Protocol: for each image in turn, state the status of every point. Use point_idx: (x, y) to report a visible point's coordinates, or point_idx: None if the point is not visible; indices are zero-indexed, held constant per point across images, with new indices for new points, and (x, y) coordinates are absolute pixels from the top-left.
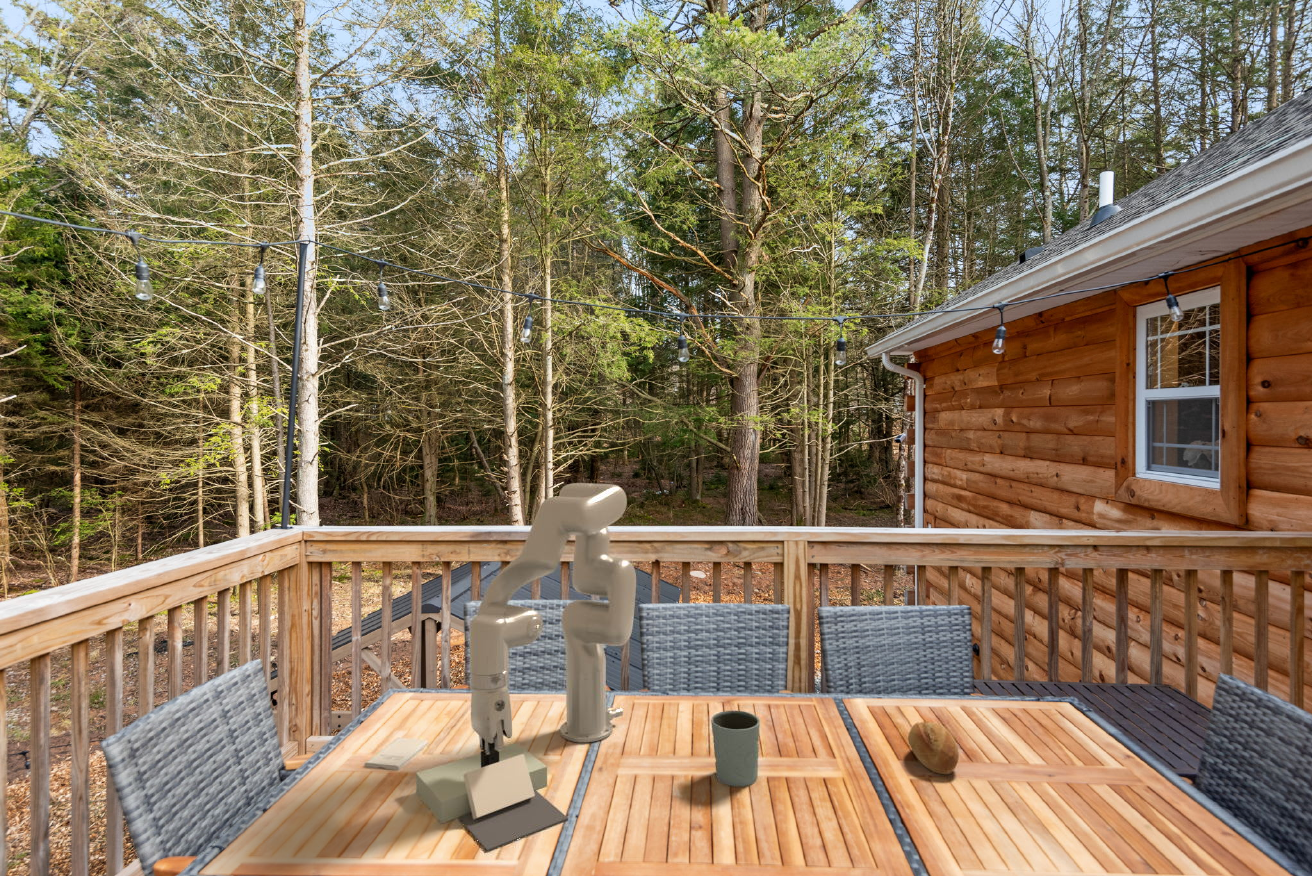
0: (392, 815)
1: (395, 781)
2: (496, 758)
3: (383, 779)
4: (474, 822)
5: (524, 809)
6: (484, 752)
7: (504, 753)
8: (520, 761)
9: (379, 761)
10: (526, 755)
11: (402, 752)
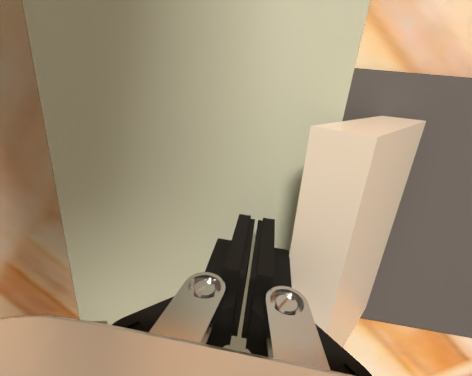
0: None
1: (40, 299)
2: (289, 277)
3: (20, 308)
4: None
5: (423, 175)
6: (234, 332)
7: (99, 72)
8: (380, 167)
9: None
10: None
11: None
